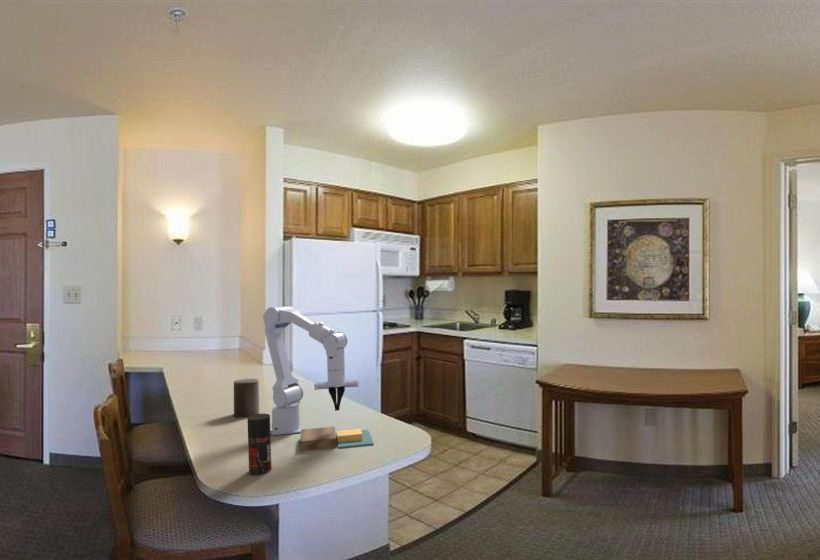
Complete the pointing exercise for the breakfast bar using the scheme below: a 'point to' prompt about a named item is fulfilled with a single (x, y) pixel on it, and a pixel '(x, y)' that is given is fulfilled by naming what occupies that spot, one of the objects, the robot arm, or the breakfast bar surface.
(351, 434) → the tile
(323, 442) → the brown flat block
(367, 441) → the mat
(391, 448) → the breakfast bar surface
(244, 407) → the pillar candle
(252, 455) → the deodorant
